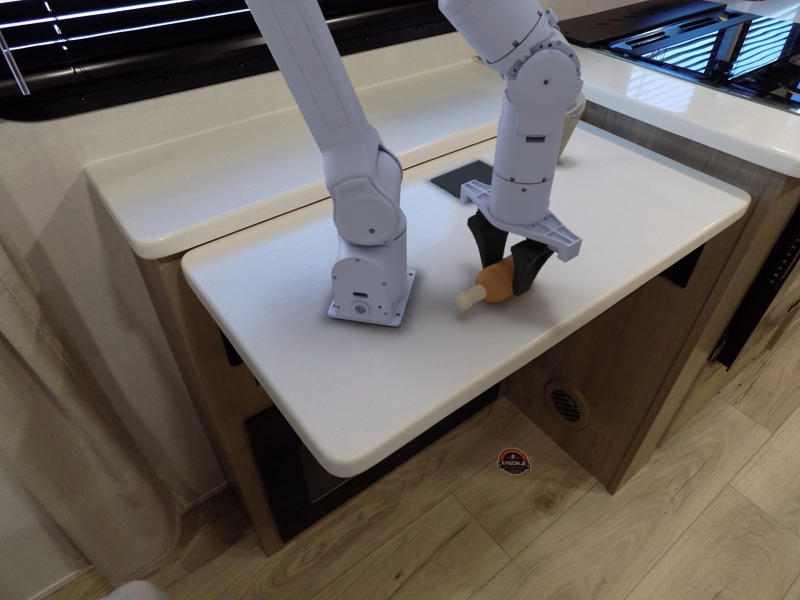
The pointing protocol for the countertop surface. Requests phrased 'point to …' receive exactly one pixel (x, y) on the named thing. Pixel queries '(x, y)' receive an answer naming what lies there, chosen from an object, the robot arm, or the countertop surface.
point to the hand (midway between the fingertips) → (506, 281)
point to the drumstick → (490, 284)
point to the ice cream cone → (572, 120)
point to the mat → (464, 177)
